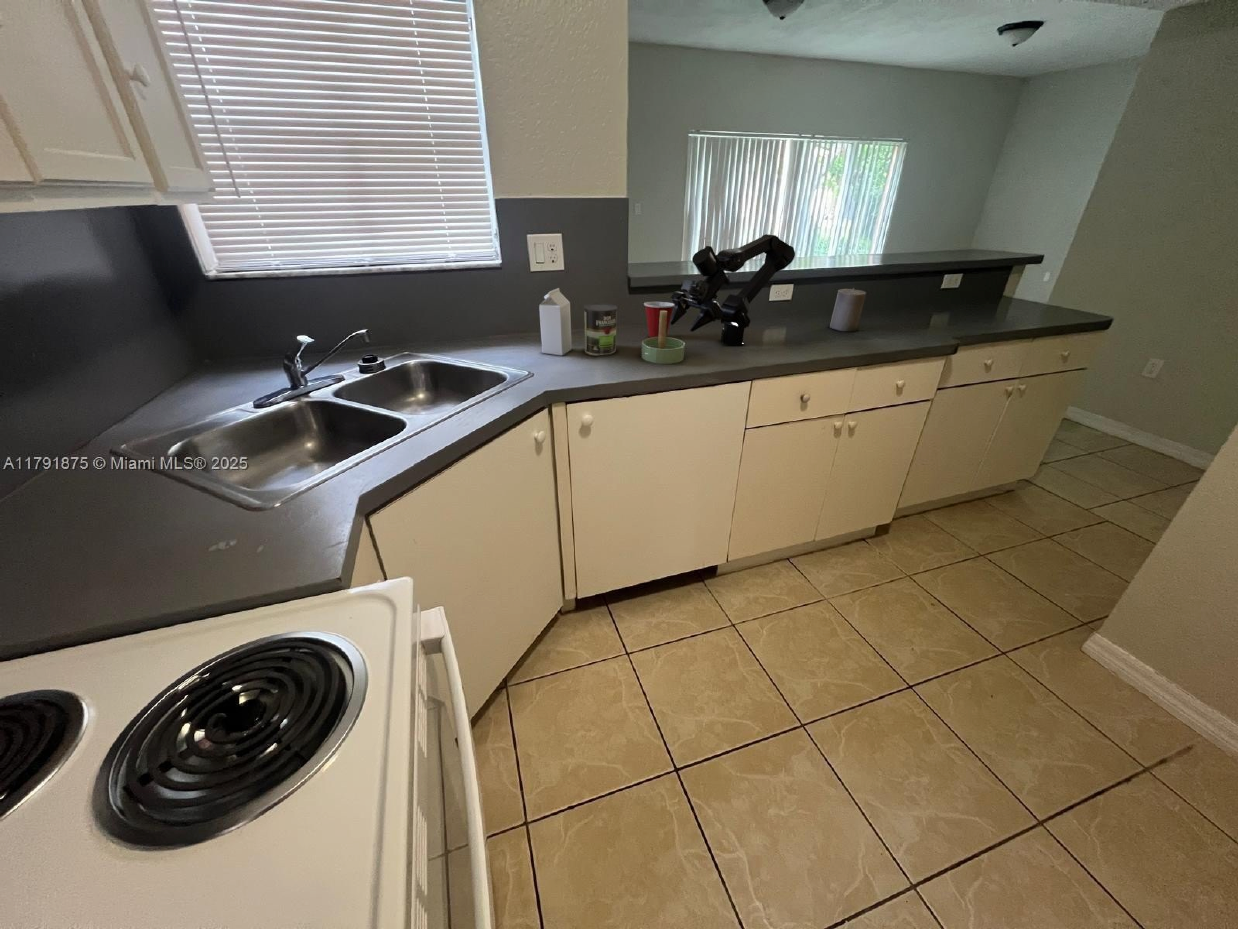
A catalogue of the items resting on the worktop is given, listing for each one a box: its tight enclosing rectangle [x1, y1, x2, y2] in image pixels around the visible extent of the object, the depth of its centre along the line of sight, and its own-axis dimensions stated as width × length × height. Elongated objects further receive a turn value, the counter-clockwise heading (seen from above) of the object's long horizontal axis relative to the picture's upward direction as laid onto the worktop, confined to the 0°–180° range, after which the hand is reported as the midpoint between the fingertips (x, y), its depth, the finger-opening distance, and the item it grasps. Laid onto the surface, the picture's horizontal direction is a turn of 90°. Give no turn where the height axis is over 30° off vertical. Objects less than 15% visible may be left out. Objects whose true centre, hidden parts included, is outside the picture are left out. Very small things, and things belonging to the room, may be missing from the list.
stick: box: [658, 310, 667, 349], centre depth 148 cm, size 5×5×14 cm
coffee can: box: [583, 302, 618, 357], centre depth 154 cm, size 10×10×14 cm
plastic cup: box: [643, 301, 674, 338], centre depth 169 cm, size 11×11×12 cm
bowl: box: [640, 336, 686, 365], centre depth 151 cm, size 13×13×5 cm
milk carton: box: [538, 287, 572, 356], centre depth 151 cm, size 7×7×19 cm
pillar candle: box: [829, 287, 867, 333], centre depth 183 cm, size 10×10×15 cm
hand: (680, 327), depth 151 cm, fingers open, 9 cm apart
